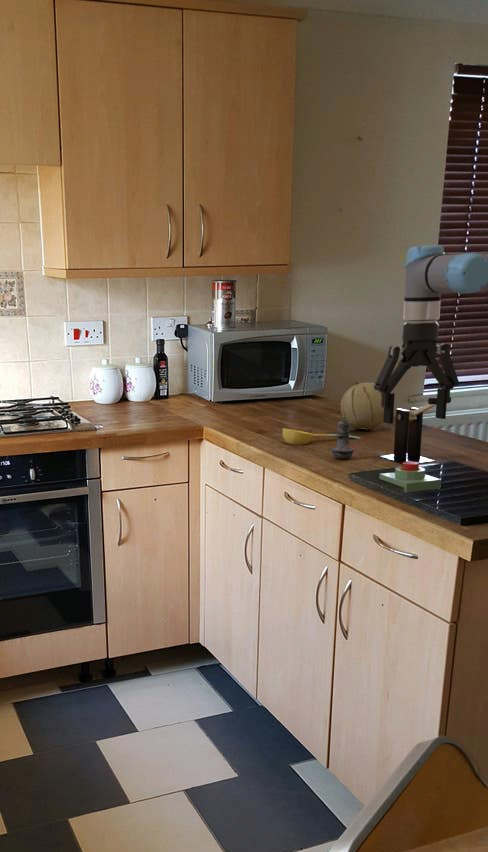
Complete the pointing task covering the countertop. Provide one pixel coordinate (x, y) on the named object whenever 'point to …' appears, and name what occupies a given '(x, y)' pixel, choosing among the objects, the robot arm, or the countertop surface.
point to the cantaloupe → (362, 406)
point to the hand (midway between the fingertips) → (414, 420)
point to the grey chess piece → (343, 441)
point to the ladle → (302, 436)
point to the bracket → (407, 439)
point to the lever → (423, 408)
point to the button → (410, 466)
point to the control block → (411, 480)
